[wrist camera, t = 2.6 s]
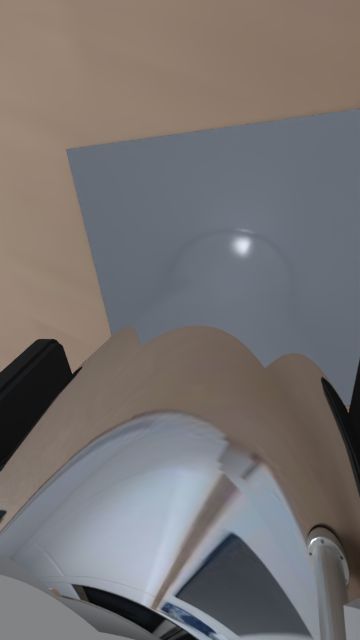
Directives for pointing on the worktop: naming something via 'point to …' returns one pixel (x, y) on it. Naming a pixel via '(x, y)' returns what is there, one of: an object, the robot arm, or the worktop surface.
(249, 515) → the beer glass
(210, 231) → the blue-grey tile
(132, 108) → the worktop surface
